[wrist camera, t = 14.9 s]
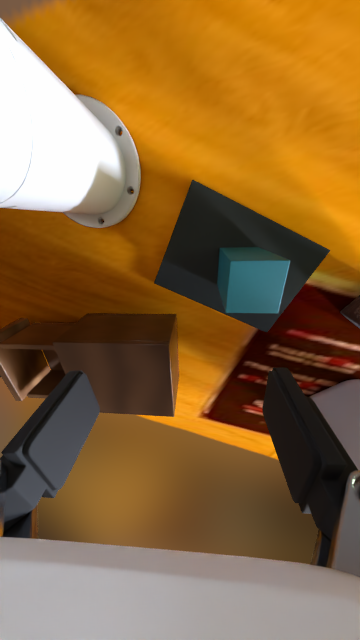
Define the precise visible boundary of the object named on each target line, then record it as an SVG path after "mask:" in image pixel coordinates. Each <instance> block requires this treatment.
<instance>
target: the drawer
mask: <svg viewBox="0 0 360 640" xmlns="http://www.w3.org/2000/svg"><path fill="white" fill-rule="evenodd" d="M74 324H75V323H39V322H34V323H33V324H31V325H30V323H29V321H28V319H27V318H20V319H18V320H16V321H14V322H13V323H11V324H9V325H7V326H5V327H3V328H1V329H0V377H2V379H3V380H4V382H5V384H6V385H7V387H8V388H9V390H10V392H11V393H12V395H13V397H14V398H15V400H16V401H22V400H23V399H24V398H25V397H26V396H28V397H30V398H47V397H48V396H49V394H50V393H51V392H52V391H53V390H54V388H55V387H56V386H57V385H58V384H59V382H60V381H61V380H62V379H63V378H64V376H65V373H64V370H63V368H62V365H61V363H60V360H59V358H58V355H57V353H56V350H55V348H54V345H53V343H52V342H53V341H54V340H56V339H57V338H58V337H59V336H61V335H62V334H63V333H64V332H65V331H67V330H68V329H69V328H70V327H72V326H73V325H74ZM41 349H42V350H43V353H44V355H45V357H46V359H47V362H48V364H49V366H50V368H51V370H50V368H49V366H48V364H47V362H46V359H45V357H44V355H43V353H42V350H41Z"/></svg>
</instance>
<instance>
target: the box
mask: <svg viewBox="0 0 360 640" xmlns="http://www.w3.org/2000/svg"><path fill="white" fill-rule="evenodd" d="M340 313H341V314H342V315H343V316H345V317H346V318H347V319H348V320H350V321H351V322H352V323H353V324H355V325H356V326H357V327H359V328H360V296H358V297H357V298H356V299H355V300H354V301H352V302H351V303H350V304H349V305H347V306H346V307H345V308H344V309H343V310H341V311H340Z"/></svg>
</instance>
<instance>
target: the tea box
mask: <svg viewBox="0 0 360 640" xmlns="http://www.w3.org/2000/svg"><path fill="white" fill-rule="evenodd" d="M289 264H290V260H288V259H286V258H283V257H281V256H278V255H276V254H274V253H271V252H269V251H266V250H264V249H261V248H259V247H240V248H220V249H219V264H218V280H217V285H218V289H219V292H220V295H221V299H222V302H223V305H224V309H225V312H226V313H278V311H279V307H280V303H281V298H282V294H283V290H284V285H285V281H286V277H287V272H288V268H289Z"/></svg>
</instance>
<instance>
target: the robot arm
mask: <svg viewBox="0 0 360 640" xmlns="http://www.w3.org/2000/svg"><path fill="white" fill-rule="evenodd" d="M121 131H122V132H123V133H122V135H121V136H120V132H121ZM140 183H141V168H140V162H139V157H138V153H137V150H136V147H135V144H134V142H133V140H132V138H131V136H130V134H129V132H128V130H127V129H126V127H125V126H124V124H123V123H122V121H121V120H120V119H119V118H118V117H117V116H116V114H115V113H114V112H113V111H112V110H111V109H109V108H108V107H107V106H106V105H105V104H103V103H102V102H100V101H98V100H96V99H94V98H92V97H88V96H85V95H74V94H73V93H72V92H71V90H70V89H69V88H68V87H67V86H66V85H65V84H64V83H63V82H62V81H61V80H60V79H59V78H58V77H57V76H56V75H55V74H54V73H53V72H52V71H51V70H50V69H49V68H48V67H47V66H46V65H45V64H44V63H43V61H42V60H41V59H40V58H39V57H38V56H37V55H36V54H35V53H34V52H33V51H32V50H31V49H30V48H29V47H28V46H27V45H26V44H25V43H24V42H23V41H22V40H21V39H20V38H19V37H18V36H17V35H16V34H15V32H14V31H13V30H12V29H11V28H10V27H9V26H8V25H7V24H6V23H5V22H4V21H3V20H2V19H1V18H0V208H11V209H25V210H39V211H52V212H63V213H64V214H65V215H67V216H68V217H69V218H70V219H72V220H74V221H75V222H77V223H79V224H82V225H84V226H87V227H94V228H104V227H109V226H113V225H115V224H117V223H119V222H121V221H122V220H123V219H124V218H126V217H127V215H128V214H129V213H130V212H131V211H132V209H133V207H134V205H135V203H136V201H137V197H138V194H139V190H140ZM132 189H133V190H134V193H133V194H132V193H131V190H132ZM103 219H104V223H103V222H102V220H103ZM99 412H100V406H99V404H98V402H97V399H96V397H95V394H94V392H93V390H92V387H91V385H90V382H89V380H88V378H87V375H86V374H85V373H84V372H83V371H69V372H68V373H67V374H66V375H65V376H64V378H63V379H62V380H61V381H60V382H59V384H58V385H57V386H56V387H55V388H54V390H53V391H52V392H51V393H50V394H49V396H48V397H47V398H46V399H45V400H44V402H43V403H42V404H41V405H40V406H39V408H38V409H37V410H36V411H35V412H34V414H33V415H32V416H31V417H30V418H29V420H28V421H27V422H26V423H25V424H24V426H23V427H22V428H21V429H20V430H19V432H18V433H17V434H16V435H15V436H14V438H13V439H12V440H11V441H10V442H9V444H8V445H7V446H6V447H5V448H4V450H3V451H2V454H3V456H2V457H1V458H0V640H360V470H358V469H357V467H356V465H355V464H354V462H353V461H352V459H351V458H350V456H349V455H348V453H347V452H346V450H345V449H344V447H343V445H342V444H341V442H340V441H339V439H338V438H337V436H336V435H335V433H334V432H333V430H332V428H331V427H330V425H329V424H328V422H327V421H326V419H325V418H324V416H323V415H322V413H321V412H320V410H319V408H318V407H317V405H316V404H315V402H314V401H313V400H312V399H311V398H310V397H307V396H305V395H304V393H303V392H302V390H301V389H300V387H299V385H298V384H297V382H296V381H295V379H294V377H293V376H292V374H291V372H290V371H289V369H288V368H273V370H272V371H269V374H268V380H267V385H266V391H265V397H264V403H263V415H264V418H265V421H266V424H267V427H268V430H269V433H270V435H271V438H272V441H273V444H274V447H275V450H276V453H277V456H278V459H279V461H280V464H281V467H282V470H283V473H284V476H285V479H286V482H287V485H288V487H289V490H290V493H291V496H292V499H293V501H294V502H295V503H299V506H300V508H301V511H302V513H311V514H312V516H313V519H314V521H315V524H316V526H317V528H319V530H318V535H317V539H316V543H315V547H314V551H313V555H312V560H311V564H304V563H296V562H288V561H279V560H270V559H261V558H252V557H242V556H230V555H219V554H209V553H197V552H187V551H186V552H185V551H176V550H163V549H152V548H140V547H129V546H117V545H106V544H94V543H81V542H68V541H56V540H43V539H38V506H37V504H38V502H39V500H40V498H41V496H42V497H47V498H54V497H55V495H56V493H57V491H58V490H59V489H61V488H62V486H63V485H64V483H65V481H66V479H67V477H68V475H69V473H70V471H71V469H72V467H73V465H74V463H75V461H76V459H77V457H78V455H79V453H80V451H81V449H82V447H83V445H84V443H85V441H86V439H87V437H88V435H89V433H90V431H91V429H92V427H93V425H94V423H95V421H96V418H97V416H98V415H99Z"/></svg>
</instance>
